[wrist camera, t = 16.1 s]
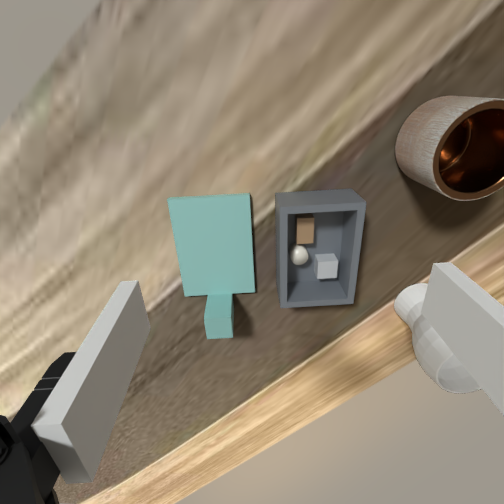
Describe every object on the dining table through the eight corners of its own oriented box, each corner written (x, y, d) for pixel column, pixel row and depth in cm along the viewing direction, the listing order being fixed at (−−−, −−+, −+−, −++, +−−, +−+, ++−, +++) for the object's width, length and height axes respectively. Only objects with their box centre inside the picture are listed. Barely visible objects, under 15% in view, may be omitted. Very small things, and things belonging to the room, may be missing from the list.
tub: (275, 193, 45) (279, 207, 39) (351, 188, 45) (366, 202, 39) (276, 285, 52) (280, 308, 47) (341, 281, 52) (353, 303, 47)
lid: (168, 197, 44) (156, 214, 38) (249, 192, 45) (250, 209, 38) (189, 311, 54) (182, 340, 48) (255, 307, 54) (257, 336, 48)
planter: (492, 113, 41) (558, 120, 32) (442, 190, 45) (489, 214, 37) (422, 81, 39) (473, 79, 30) (377, 165, 43) (411, 184, 35)
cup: (419, 331, 58) (472, 404, 45) (373, 313, 55) (415, 384, 42) (460, 288, 53) (532, 355, 40) (411, 266, 51) (471, 329, 38)
